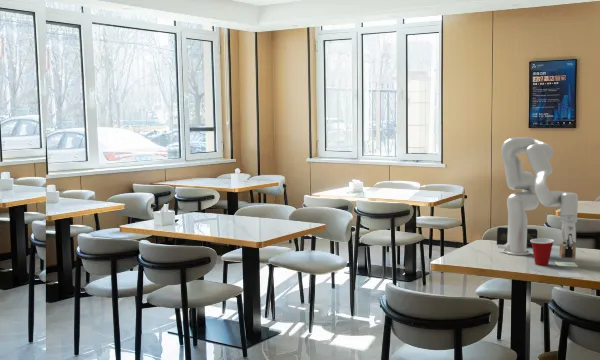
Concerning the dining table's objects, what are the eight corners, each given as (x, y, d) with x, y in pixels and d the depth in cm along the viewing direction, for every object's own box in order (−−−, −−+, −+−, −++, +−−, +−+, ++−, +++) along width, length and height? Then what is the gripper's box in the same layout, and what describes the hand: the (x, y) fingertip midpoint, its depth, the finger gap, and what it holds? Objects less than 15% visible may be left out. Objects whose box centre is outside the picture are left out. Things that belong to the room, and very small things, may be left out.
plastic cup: (525, 262, 317) (526, 237, 316) (546, 261, 318) (547, 237, 317) (535, 267, 306) (536, 241, 305) (557, 266, 307) (558, 241, 306)
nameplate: (536, 246, 358) (537, 228, 358) (536, 247, 357) (537, 229, 356) (496, 245, 363) (497, 227, 362) (496, 245, 361) (497, 227, 360)
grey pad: (561, 277, 286) (561, 276, 286) (557, 272, 295) (557, 272, 295) (583, 278, 285) (583, 277, 285) (578, 273, 294) (578, 273, 293)
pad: (558, 265, 309) (558, 265, 309) (554, 262, 318) (554, 261, 318) (578, 266, 308) (578, 266, 308) (574, 262, 316) (574, 262, 316)
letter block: (575, 258, 309) (576, 245, 308) (561, 258, 310) (562, 245, 309) (572, 256, 315) (573, 243, 314) (559, 255, 316) (559, 243, 315)
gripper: (581, 221, 302) (579, 259, 303) (573, 216, 319) (571, 253, 320) (563, 220, 303) (562, 259, 305) (556, 215, 320) (555, 252, 321)
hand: (567, 255), depth 312 cm, fingers closed on letter block, 6 cm apart
